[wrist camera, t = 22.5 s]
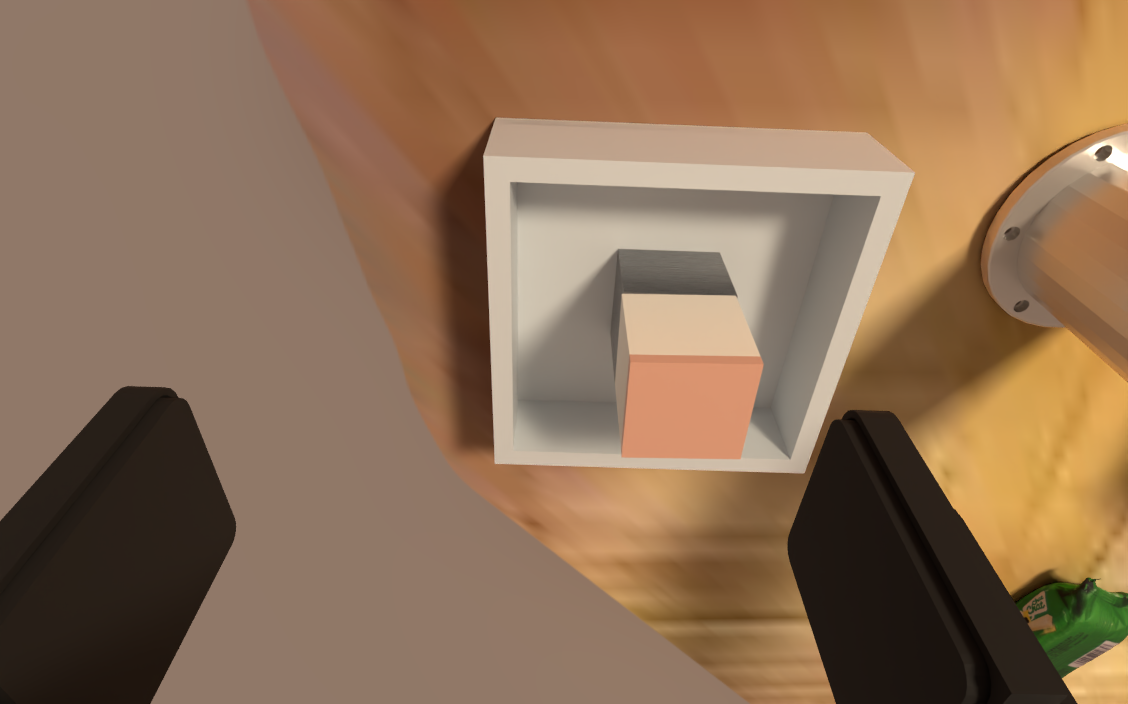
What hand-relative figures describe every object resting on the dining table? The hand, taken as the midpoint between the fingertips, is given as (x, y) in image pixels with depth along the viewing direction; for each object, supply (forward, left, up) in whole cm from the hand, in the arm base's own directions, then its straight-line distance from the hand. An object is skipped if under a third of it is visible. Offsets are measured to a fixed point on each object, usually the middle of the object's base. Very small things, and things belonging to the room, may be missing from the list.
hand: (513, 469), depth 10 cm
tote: (-7, +13, -28) cm, 32 cm away
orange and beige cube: (-7, +13, -22) cm, 27 cm away
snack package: (-47, +47, -29) cm, 72 cm away
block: (-7, +13, -27) cm, 31 cm away
